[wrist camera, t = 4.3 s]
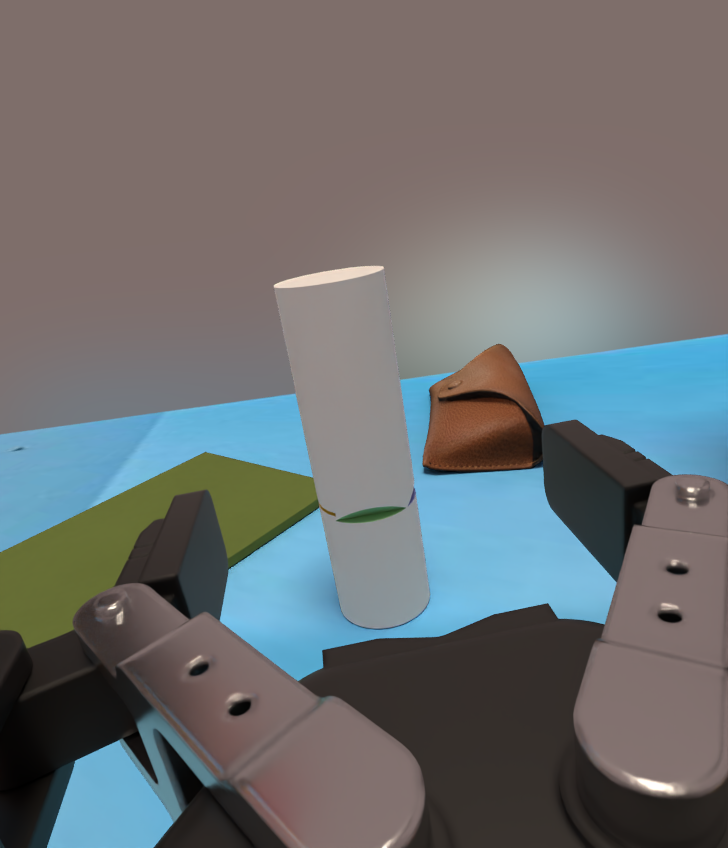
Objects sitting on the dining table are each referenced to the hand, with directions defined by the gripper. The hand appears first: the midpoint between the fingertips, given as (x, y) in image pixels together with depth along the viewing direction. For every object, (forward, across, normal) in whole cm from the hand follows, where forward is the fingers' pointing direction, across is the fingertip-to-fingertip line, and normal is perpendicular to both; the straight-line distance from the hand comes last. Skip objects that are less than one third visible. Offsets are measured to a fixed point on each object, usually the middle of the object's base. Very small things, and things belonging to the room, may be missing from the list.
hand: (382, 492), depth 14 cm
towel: (+21, +14, +11) cm, 27 cm away
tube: (+11, 0, +11) cm, 15 cm away
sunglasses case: (+30, -10, +11) cm, 34 cm away
